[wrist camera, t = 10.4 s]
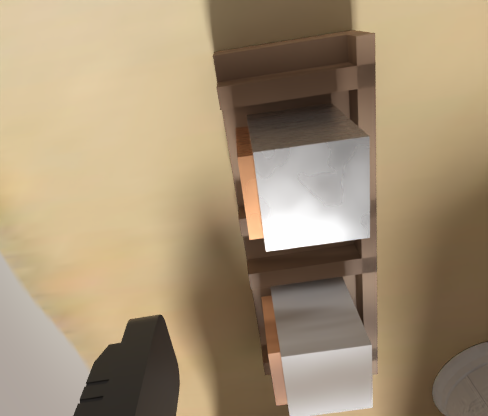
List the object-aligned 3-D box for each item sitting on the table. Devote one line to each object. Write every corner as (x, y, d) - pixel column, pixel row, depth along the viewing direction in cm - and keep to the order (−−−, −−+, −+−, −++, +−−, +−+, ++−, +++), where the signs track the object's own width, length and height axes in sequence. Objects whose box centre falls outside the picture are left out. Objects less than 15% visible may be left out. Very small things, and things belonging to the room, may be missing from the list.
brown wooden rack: (361, 334, 29) (405, 440, 22) (263, 348, 29) (274, 457, 22) (352, 30, 21) (419, 39, 13) (214, 51, 21) (207, 72, 14)
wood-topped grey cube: (335, 182, 22) (369, 237, 17) (245, 194, 22) (251, 253, 17) (331, 102, 20) (369, 136, 15) (234, 116, 20) (236, 154, 15)
